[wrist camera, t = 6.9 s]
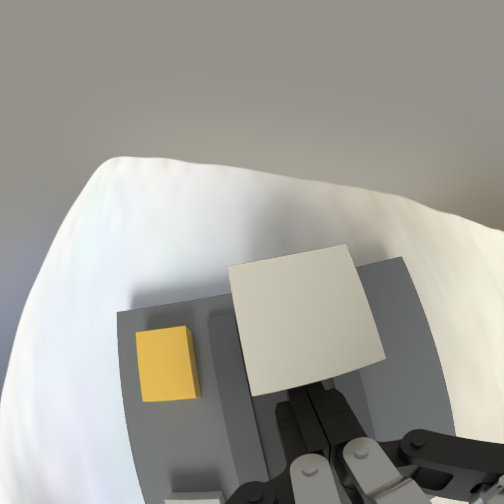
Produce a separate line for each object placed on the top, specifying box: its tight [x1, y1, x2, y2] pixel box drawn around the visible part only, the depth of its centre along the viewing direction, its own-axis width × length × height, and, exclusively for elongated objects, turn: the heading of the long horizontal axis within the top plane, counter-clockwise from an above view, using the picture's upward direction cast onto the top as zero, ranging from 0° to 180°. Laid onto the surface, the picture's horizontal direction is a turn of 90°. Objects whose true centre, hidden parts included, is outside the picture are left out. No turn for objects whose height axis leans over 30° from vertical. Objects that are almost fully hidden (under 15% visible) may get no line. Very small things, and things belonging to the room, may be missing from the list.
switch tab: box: [227, 244, 386, 396], centre depth 11 cm, size 4×4×8 cm
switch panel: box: [117, 256, 456, 504], centre depth 13 cm, size 20×18×4 cm
